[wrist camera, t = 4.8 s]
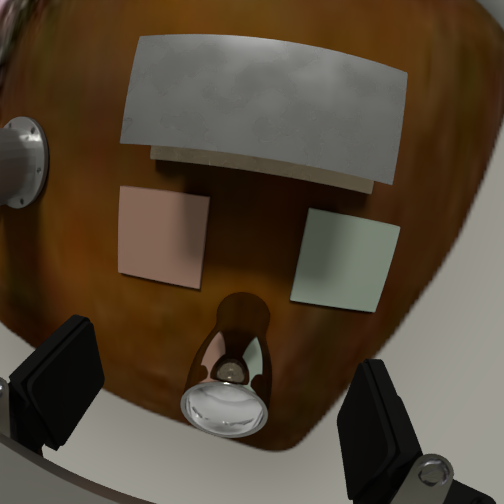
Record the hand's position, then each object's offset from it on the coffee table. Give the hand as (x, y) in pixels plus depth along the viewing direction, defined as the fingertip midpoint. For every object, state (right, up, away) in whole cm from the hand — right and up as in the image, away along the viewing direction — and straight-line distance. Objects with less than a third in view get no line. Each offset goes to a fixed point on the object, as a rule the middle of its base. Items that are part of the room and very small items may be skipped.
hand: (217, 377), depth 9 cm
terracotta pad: (-9, +6, +22) cm, 25 cm away
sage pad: (+11, +3, +22) cm, 25 cm away
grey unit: (+3, +17, +18) cm, 25 cm away
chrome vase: (0, -3, +25) cm, 25 cm away
